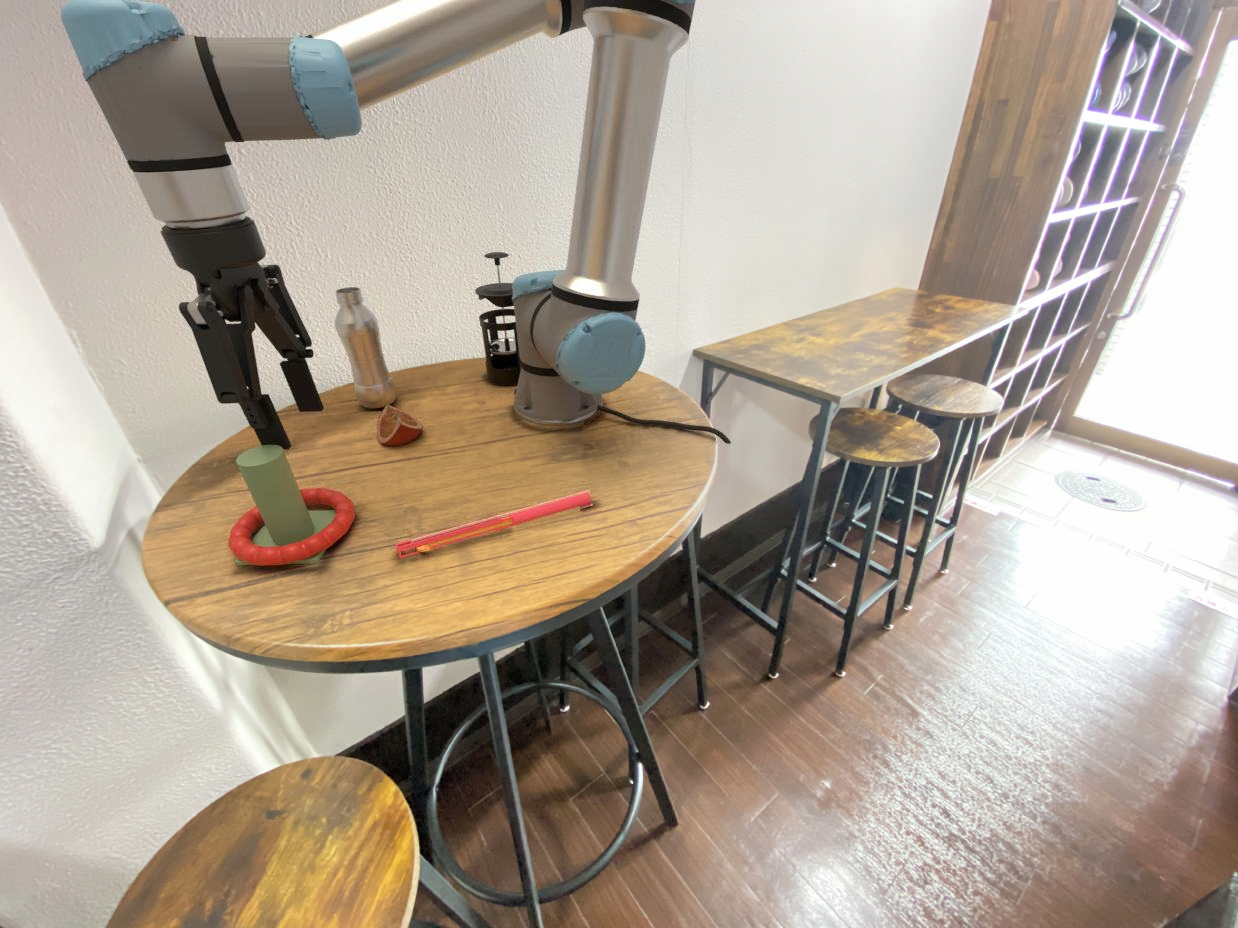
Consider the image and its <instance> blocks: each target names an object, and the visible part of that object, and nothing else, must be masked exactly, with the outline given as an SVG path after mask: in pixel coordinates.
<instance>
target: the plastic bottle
mask: <svg viewBox="0 0 1238 928" xmlns="http://www.w3.org/2000/svg"><path fill="white" fill-rule="evenodd" d="M335 297H336V303H337V305H339V309H338V311H337V313H336V316H335V319H334V328H335V330H336V331H335V332H336V333H337V335H338V337H339V339H340V342H341V344H342V346H343V348H344V350H345V353H346V356H347V358H348V361H349V364H350V367H351V372H352V373H351V374H352V377H353V382H354V383H353V386H354V387H353V388H354V394H355V398H356V400H357V401H358V403H359V404H360V405H361V406H363V407H364V408H366V409H380V408H381V409H382V408H385V406H386V405H387V404H388V405H390V406H391V404H393V403H394V402H395V400H396V398H397V387H396V385H395V382H394V380H393V378H392V375H390V374H391V373H390V371H389V368H388V366H387V363H386V360H385V355H384V353H383V346H382V341H381V333H380V323H379V320H378V318H377V315H376V314H374V312H373V311H372V310H371V309H370V308H369V307H368V306H366V305H365V304H364V303H363V302H364V301H365V299H364V296H363V293H362V290H361V288H360V287H357V286H352V287H351V286H350V287H349V286H348V287H342V288H338V289H336V290H335Z"/></svg>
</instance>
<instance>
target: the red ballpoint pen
mask: <svg viewBox="0 0 1238 928" xmlns="http://www.w3.org/2000/svg"><path fill="white" fill-rule="evenodd" d="M590 493H591V489H588V490H583V491H581V492H577V493H573V494H570V495H566V496H562V497H559V498H555V499H551V500H548V501H545V502H541V503H538V504H533V505H530V506H526V507H523V508H520V509H519V508H518V509H516V510H511V511H508V512H506V513H505V512H504V513H502V514H496V515H492V516H489V517H485V518H482V519H478V520H475V521H471V522H468V523H464V524H460V525H457V526H454V527H450V528H445V529H443V530H439V531H436V532H432V533H428V534H425V535H420V536H418V537H414V538H410V539H407V540H404V541H400V542H397V543H396V542H395V547H396V551H397V553H398V555H399V558H400V559H403V558H406V557H408V556H412V555H416V554H419V553H425V552H430V551H431V550H433V549H436V548H439V547H440V548H441V547H443V546H446V545H450V544H453V543H456V542H460V541H464V540H466V539H470V538H474V537H477V536H481V535H484V534H488V533H491V532H495V531H496V532H497V531H500V530H504V529H507V528H510V527H514V526H516V525H518V524H523V523H525V522H530V521H532V520H536V519H539V518H543V517H546V516H551V515H553V514H557V513H560V512H565V511H567V510H570V509H574V508H577V507H579V510H583V509H586V508H589V507H593V503H592V497H591V495H590ZM410 549H412V550H413V552H410V553H409V552H408V553H407V554H402V552H403V551H407V550H410Z"/></svg>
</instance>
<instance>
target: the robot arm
mask: <svg viewBox="0 0 1238 928" xmlns="http://www.w3.org/2000/svg"><path fill="white" fill-rule="evenodd" d="M696 1H697V0H390V1H387V2H385V3H382V4H381V5H378V6H375V7H373V8H370V9H368V10H365V11H363V12H360V13H358V14H355V15H353V16H351V17H348V18H346V19H344V20H341V21H339V22H337V23H333V24H331V25H329V26H326V27H324V28H322V29H319V30H317V31H315V32H311V33H310V34H307V35H305V36H303V35H299V34H298V35H297V34H295V35H293V36H281V37H280V36H256V37H255V36H254V37H253V36H252V37H242V36H241V37H236V36H235V37H206V36H201V35H199V36H196V35H195V34H186V33H185V30H184V28H183V27H182V26H181V25H180V23H179V21H178V19H177V18H176V15H175V13H174V12H173V11H172V10H171V9H170V8H169V7H167V6H165V5H163V4H160V3H157V2H152V1H143V0H69V1H67V2H65V4H64V5H62V8H61V9H60V20H61V22H62V25H63V27H64V30H65V32H66V34H67V36H68V39H69V41H70V44H71V47H72V48H73V50H74V52H75V56H76V58H77V60H78V62H79V66H80V68H81V70H82V77H83V79H84V81H85V82H86V83H87V84H88V86H89V88H90V90H91V92H92V94H93V96H94V98H95V100H96V102H97V104H98V106H99V108H100V110H101V112H102V114H103V116H104V118H105V119H106V122H107V124H108V126H109V129H110V130H111V132H112V134H113V136H114V139H115V140H116V142H117V144H118V146H119V148H120V150H121V152H122V155H123V156H124V158H125V160H126V163H127V165H128V167H129V169H130V170H131V171H132V174H133V176H134V178H135V180H136V182H137V184H138V187H139V189H140V190H141V193H142V195H143V197H144V199H145V202H146V204H147V206H148V208H149V210H150V212H151V214H152V216H153V218H154V219H155V220H157V221H159V222H162V223H165V225H163V226H161V230H160V234H161V237H162V238H163V240H164V243H165V244H166V247H167V249H168V251H169V253H170V255H171V257H172V259H173V262H174V263H175V265H176V266H177V268H179V269H181V270H183V271H186V272H187V273H190V274H191V275H192V276H193V278H194V281H195V285H196V293H197V296H196V297H195V298H194V299H193V300H192V301H182V302H180V303H178V310H179V313H180V314H181V315H182V317H183V319H184V320H185V321H186V323H187V324H188V326H189V328H190V329H191V332H192V334H193V337H194V340H195V342H196V345H197V348H198V351H199V353H200V356H201V358H202V361H203V364H204V367H205V369H206V370H205V371H206V372H207V375H208V378H209V381H210V383H211V386H212V389H213V392H214V395H215V396H216V400H217V401H218V403H219V404H221V405H225V404H230V405H231V404H238V405H239V407H240V409H241V410H242V412H243V415H244V417H245V419H246V421H247V423H248V425H249V427H250V428H252V429H253V432H254V433H255V435H256V437H257V439H258V441H259V442H260V446H262V445H278V446H281V447H282V448H283V450H284V451H286V450H288V451H289V450H290V448H292V443H291V440H290V439H289V436H288V434H287V431H286V429H285V428H284V425H283V422H282V421H281V419H280V416H279V414H278V412H277V409H276V407H275V405H274V403H273V401H272V398H271V396H270V394H269V393H262V387H261V382H260V376H259V370H258V362H257V357H256V351H255V346H254V339H253V333H254V332H255V330H256V328H257V327H258V328H259V330H260V331H261V332H262V333H263V335H264V336H265V337H266V338H267V340H268V341H269V343H270V344H271V345H272V346H273V347H274V349H275V350H276V351H277V352H278V353H279V355H280V356H281V357H282V359H285V360H281V362H279V366H280V369H281V371H282V373H283V376H284V378H285V380H286V382H287V385H288V388H289V390H290V392H291V395H292V397H293V399H294V402H295V404H296V406H297V409H298V412H299V413H310V412H312V413H314V412H315V413H316V412H322V411H324V409H325V407H324V404H323V402H322V399H321V397H320V393H319V391H318V389H317V386H316V384H315V381H314V378H313V375H312V372H311V370H310V367H309V365H308V362H307V359H312V358H313V357H314V354H315V353H314V350H313V348H311V347H312V345H313V342H312V341H313V340H312V338H311V336H310V334H309V332H308V330H307V328H306V326H305V324H304V322H303V320H302V318H301V315H300V314H299V311H298V310H297V307H296V305H295V303H294V301H293V299H292V297H291V295H290V293H289V291H288V289H287V286H286V283H285V280H284V275H283V273H282V269H281V266H280V265H278V264H260V263H259V262H260V261H262V260H263V259H265V257H266V255H267V251H266V249H265V246H264V243H263V241H262V238H261V235H260V233H259V231H258V227H257V226H256V223H255V220H254V219H252V218H251V217H249V216H248V215H247V216H246V213H248V212H249V211H250V205H249V203H248V200H247V197H246V195H245V192H244V190H243V187H242V184H241V183H240V180H239V178H238V176H237V175H238V174H237V173H236V170H235V168H234V165H233V163H232V160H231V158H230V154H229V153H228V151H227V146H226V143H244V142H259V141H264V142H265V141H266V142H267V141H296V140H316V139H323V140H325V141H330V140H334V139H336V138H343V137H344V138H345V137H353V136H357V135H359V134H360V133H361V130H362V127H363V122H362V115H361V112H362V111H365V110H366V109H370V108H371V107H375V106H376V105H379V104H380V103H383V102H385V101H388V100H390V99H392V98H394V97H396V96H399V95H401V94H404V93H406V92H408V91H411V90H412V89H415V88H417V87H419V86H421V85H424V84H426V83H428V82H431V81H433V80H436V79H438V78H440V77H442V76H445V75H446V74H449V73H451V72H454V71H456V70H458V69H461V68H463V67H466V66H467V65H470V64H472V63H474V62H476V61H479V60H481V59H483V58H485V57H488V56H490V55H492V54H495V53H497V52H499V51H501V50H502V51H503V50H504V49H506V48H509V47H511V46H513V45H515V44H519V43H520V42H522V41H524V40H527V39H529V38H531V37H533V36H536V35H537V34H540V33H543V34H544V35H545V36H547V37H549V38H550V39H555V38H557V37H560V36H561V35H564V34H567V33H569V32H572V31H575V30H578V29H582V28H587V29H588V31H589V33H590V35H591V37H592V40H593V45H592V46H593V47H592V53H591V55H592V56H591V62H590V71H589V77H588V88H587V95H586V103H585V104H586V105H585V112H584V120H583V127H582V128H583V129H582V136H581V145H580V153H579V161H578V169H577V177H576V186H575V194H574V195H575V196H574V201H573V202H574V203H573V210H572V219H571V228H570V235H569V243H568V252H567V258H566V259H567V260H566V266H565V268H564V269H555V270H544V271H534V272H529V273H524V274H521V275H518V276H516V277H515V278H514V279H513V281H512V283H513V285H512V288H513V297H512V301H513V303H514V306H513V309H514V312H515V316H514V320H515V321H514V322H516V330H517V339H518V347H519V356H520V365H521V372H520V376H519V381H518V385H516V388H515V389H514V392H513V396H514V398H513V409H514V412H515V414H516V416H518V418H520V419H522V420H524V421H526V422H528V423H531V424H535V425H541V426H548V427H549V426H550V427H557V426H558V427H559V426H570V425H575V424H579V423H582V422H583V425H584V426H585V425H587V424H589V423H591V422H593V421H595V420H596V419H598V417H600V416H601V414H602V412H603V413H605V414H609V415H612V416H615V417H618V418H620V419H622V420H625V421H627V422H630V423H633V424H637V425H644V426H661V427H669V428H676V429H681V430H686V431H698V432H699V431H700V432H707V433H710V434H712V435H713V434H714V435H715V436H717V437H718V438H720V439H721V440H722V442H724V443H725V444H727V445H731V444H732V441H731V440H730V439H729V438H728V437H727V436H726V434H724V433H723V432H721V431H720V430H719V429H717V428H715V427H711V426H708V425H707V426H706V425H698V424H697V425H695V424H687V423H681V422H675V421H668V420H660V419H641V418H637V417H632V416H630V415H628V414H625V413H623V412H620V411H618V410H615V409H612V408H610V407H607V406H604V401H603V400H604V399H603V395H605V394H609V393H611V392H615V391H616V390H619V389H620V388H622V386H623V385H624V384H626V383H627V382H629V381H630V380H632V378H634V376H635V375H636V373H637V372H638V371H639V370H640V368H641V365H642V363H643V361H644V359H645V356H646V355H645V354H646V344H647V343H646V338H645V334H644V332H643V331H642V328H641V326H640V324H639V323H638V322H637V321H636V320H637V315H638V308H639V304H640V297H641V294H640V292H639V291H638V290H637V288H636V286H635V284H634V283H633V279H632V277H633V271H634V266H635V260H636V256H637V255H636V254H637V250H638V243H639V238H640V234H641V233H640V232H641V226H642V221H643V216H644V209H645V204H646V199H647V193H648V187H649V181H650V175H651V171H652V165H653V159H654V154H655V148H656V142H657V137H658V133H659V132H658V131H659V125H660V119H661V114H662V108H663V104H664V97H665V91H666V88H667V87H666V86H667V80H668V74H669V69H670V64H671V59H672V57H673V56H674V55H675V54H676V53H677V52H679V51H680V49H682V48H683V47H684V46H685V45H686V44H687V43H688V41H689V36H690V32H691V27H692V21H693V15H694V12H695V6H696ZM226 321H227V322H228V323H227V322H226ZM256 326H257V327H256Z"/></svg>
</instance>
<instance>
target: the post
mask: <svg viewBox="0 0 1238 928" xmlns="http://www.w3.org/2000/svg"><path fill="white" fill-rule="evenodd" d="M235 463H236V465H237V467H238V469H239V472H240V474H241V476H242V478H243V480H244V482H245V485H246V487H247V488H248V491H249V494H250V495H251V498H252V500H253V502H254V503H255V506H257V508H258V510H259V512H260V514H261V517H262V519H263V521H264V522H263V523H264V524H263V525H262V527H261V528H260V529H259V530H258V531H257V532H256V533H255V535H254V536H253V537H252V538H251V541H252V543H253V544H255V545H259V546H262V547H275V546H284V545H288V544H292V543H295V542H299V541H302V540H304V539H306V538H308V537H310V536H312V535H314V534H317V533H319V532H320V531H321V530H322V529H324V528H325V527H326V526H327V525H329V524H330V523H331V522H332V520H333V519H334V517H335V515H336V510H335V509H331V510H328V509H327V510H308V506H307V504H305V502H304V500H303V497H302V495H301V492H300V487H299V484H298V482H297V480H296V478H295V475H294V473H293V470H292V468H291V465H290V462H289V460H288V457H287V455H286V453H285V450H283V448H282V447H281V446H278V445H258V446H255V447H252V448H249V449H247V450H245V451H243V452H242V453H240V454H239V455H238V456H237V457H236V460H235ZM327 549H328V548H326V549H324V550H322V551H320V552H318V553H317V554H315V555H313V556H311V557H308V558H305V559H302V560H298V561H295V562H291V563H287V564H286V565H300V564H301V565H303V564H304V565H305V564H318V563H319V562H320V560H321V558H322V557H323V556H324V555H325V552H326V551H327ZM233 563H234V565H235V566H256V565H255V564H251V563H248V562H245V561H241V560H239V559H238V558H237V557H236V558H235V560H233Z"/></svg>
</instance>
